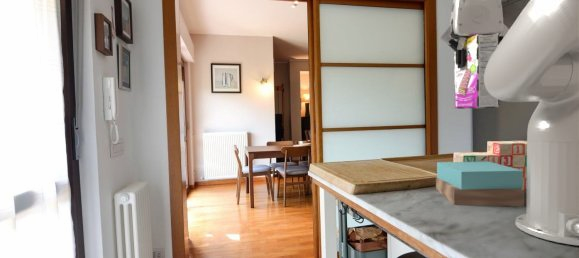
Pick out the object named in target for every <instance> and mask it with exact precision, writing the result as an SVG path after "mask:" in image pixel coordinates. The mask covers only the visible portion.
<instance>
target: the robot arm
mask: <svg viewBox="0 0 579 258" xmlns="http://www.w3.org/2000/svg"><path fill="white" fill-rule="evenodd" d="M503 14H504V12H503V5H502V0H453V1H452V4H451V13H450V20H449V26H448V28H447V29H446V30H445V31H444V32H443V33H442V35H440V40H442V41H443V42H444V43H446V44H447V45H448V46H449V47H450V48H451V49H452V50H453V53H454V52H456V65H457V67H458V68H463V67H465V65H466V51H465V49H463V46H464V43H465V40H466V39H468V38H471V37H473V36H475V35H477V34H493V33H499V45H498V46H497V48H496V49H495V51H494V52H493V54H492V55H491V57H490V59H489V61H488V63H487V66H486V69H485V73H484V84H485V87H486V89H487V91H488V93H489V94H490V95H492V96H493V97H494V98H496V99H499V101H502V102H511V103H525V102H526V103H528V102H531V103H533V102H535V103H536V102H539V103H538V105H537V106H536V108H535V109H534V111H533V113H532V115H531V117H530V119H529V121H528V124H527V131H526V136H527V137H526V141H527V190H526V207H525V208H526V209H525V211H526V213H524V214H523V213H522V214H520V215H518V216H516V217H515V226H516V227H517V228H518V229H519V230H521V231H523V232H524V233H526V234H528V235H531V236H534V237H536V238H540V239H542V240H546V241H551V242H554V243H559V244H565V245H569V246H570V245H571V246H576V247H577V246H578V247H579V0H529V1H528V2H527V4H526V5H525V7H524V8H522V10H521V11H520V14H519V15H518V16H517V18H516V19H515V21H514V22H513V24H512V25H511V26H510V28H509V27H508V26H507V25H506V24H505V23H504V16H503Z"/></svg>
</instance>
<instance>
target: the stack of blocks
mask: <svg viewBox="0 0 579 258" xmlns="http://www.w3.org/2000/svg"><path fill="white" fill-rule="evenodd" d="M486 143H487V146H486V152H481V151H480V152H479V151H478V152H476V151H473V152H472V151H471V152H466V151H465V152H462V151H461V152H458V151H457V152H453V159H452V160H453V161H452V162H483V161H489V162H492V163H496V164H500V165H504V166H507V167H511V168H515V169H518V170H522V171H523V189H522V190H524V191H525V190H526V191H527V140H508V141H507V140H505V141H504V140H499V141H497V140H496V141H491V140H490V141H489V140H487V142H486Z"/></svg>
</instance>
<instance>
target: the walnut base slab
mask: <svg viewBox="0 0 579 258" xmlns="http://www.w3.org/2000/svg"><path fill="white" fill-rule="evenodd" d="M435 190H436V191H438V193H439V194H440V195H442V196H443V197H444V198H445V199H447V200H448V201H449V202H450V203H451V204H453V205H454V206H455V205H456V206H488V207H489V206H492V207H493V206H495V207H499V206H502V207H525V190H522V189H470V190H461V189H459V188H457V187H455V186H453V185H451V184H449V183H447V182H445V181H443V180H441V179H439V178H437V176H435Z"/></svg>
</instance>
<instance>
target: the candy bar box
mask: <svg viewBox="0 0 579 258" xmlns="http://www.w3.org/2000/svg"><path fill="white" fill-rule="evenodd" d="M499 35H500V33H493V34H477V35H475V36H473V37H471V38H468V39H466V40H465V43H464V46H463V49H465V51H466V65H465V67H463V68H458V67H457V65H456V52H454V51H453V56H454V57H453V60H454V63H453V65H454V67H453V69H454V109H457V110H458V109H459V110H463V109H464V110H465V109H469V110H470V109H495V108H500V100H499V99H496V98H494V97H493V96H492V95H490V94H489V93H488V91H487V89H486V87H485V84H484V73H485V69H486V66H487V63H488V61H489V59H490V57H491V55H492V54H493V52H494V51H495V49H496V48H497V46H498V45H499Z"/></svg>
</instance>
